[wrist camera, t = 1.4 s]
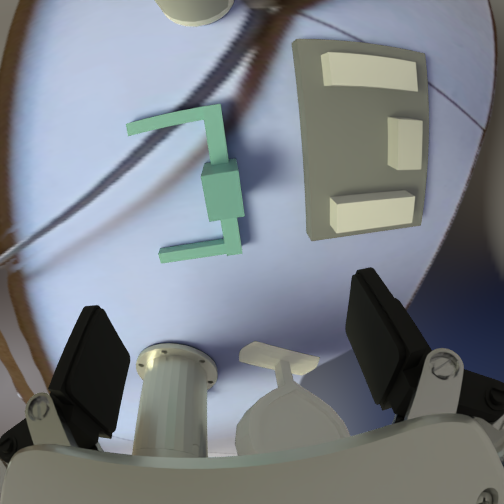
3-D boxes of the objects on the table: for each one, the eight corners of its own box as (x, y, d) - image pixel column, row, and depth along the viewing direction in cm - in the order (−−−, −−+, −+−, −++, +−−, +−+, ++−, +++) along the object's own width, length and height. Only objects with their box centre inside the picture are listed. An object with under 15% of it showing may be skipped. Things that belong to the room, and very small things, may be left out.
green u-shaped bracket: (247, 245, 31) (252, 270, 27) (163, 257, 31) (154, 284, 27) (228, 102, 24) (229, 102, 19) (129, 122, 23) (111, 128, 19)
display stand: (412, 218, 31) (430, 232, 28) (306, 232, 31) (316, 250, 28) (414, 54, 21) (436, 52, 18) (291, 43, 21) (302, 34, 18)
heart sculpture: (328, 359, 43) (361, 457, 27) (311, 377, 45) (336, 470, 29) (242, 337, 38) (255, 460, 23) (227, 358, 40) (234, 472, 25)
